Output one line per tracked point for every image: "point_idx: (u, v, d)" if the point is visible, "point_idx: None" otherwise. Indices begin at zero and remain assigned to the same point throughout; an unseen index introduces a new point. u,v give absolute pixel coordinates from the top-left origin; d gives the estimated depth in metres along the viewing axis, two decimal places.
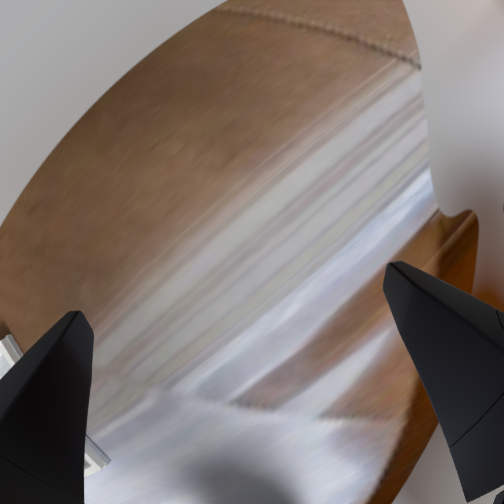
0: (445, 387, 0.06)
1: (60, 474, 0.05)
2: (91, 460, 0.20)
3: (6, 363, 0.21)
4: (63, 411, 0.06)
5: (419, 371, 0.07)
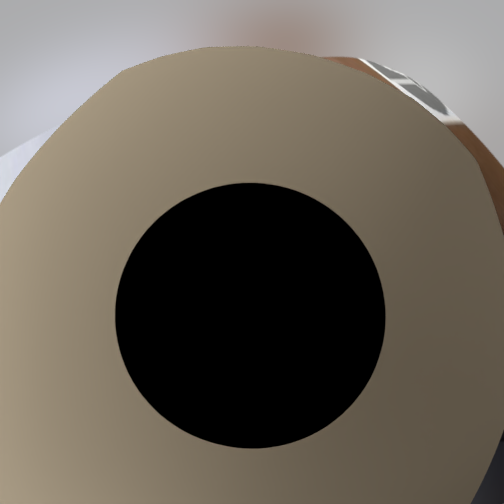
0: None
1: None
2: None
3: None
4: None
5: None
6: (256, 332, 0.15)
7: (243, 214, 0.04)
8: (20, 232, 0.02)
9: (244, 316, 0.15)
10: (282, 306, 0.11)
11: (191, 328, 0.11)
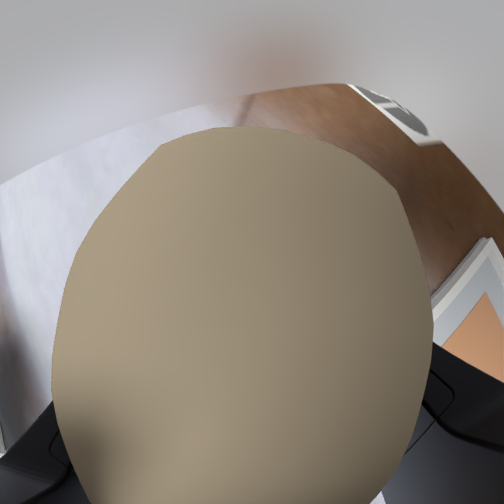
0: None
1: None
2: None
3: None
4: None
5: None
6: None
7: None
8: (108, 255, 0.04)
9: None
10: None
11: None
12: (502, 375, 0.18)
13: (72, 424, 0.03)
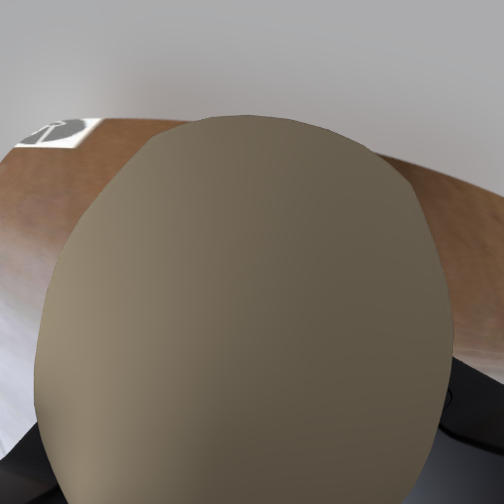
0: None
1: None
2: None
3: None
4: None
5: None
6: None
7: None
8: (93, 255, 0.03)
9: None
10: None
11: None
12: None
13: (56, 440, 0.03)
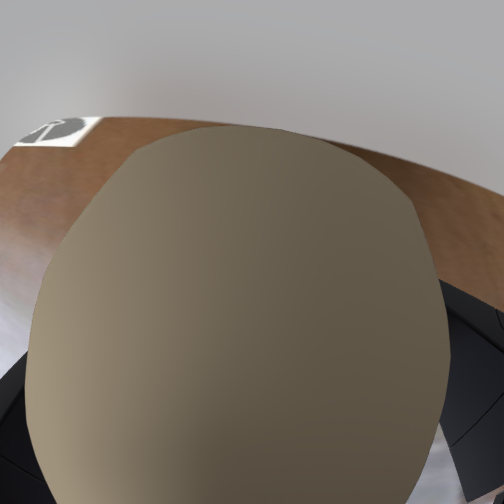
0: None
1: None
2: None
3: None
4: None
5: None
6: None
7: None
8: (76, 279, 0.03)
9: None
10: None
11: None
12: None
13: (49, 458, 0.02)
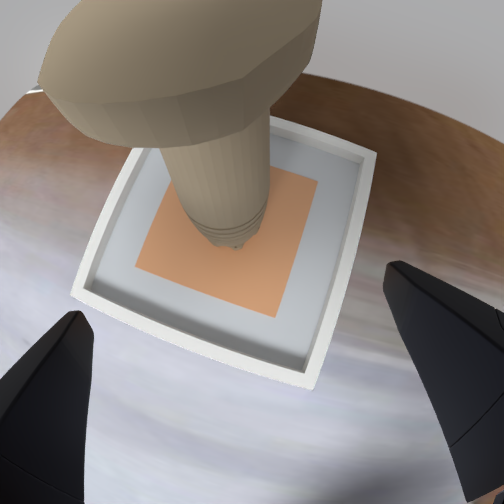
0: (445, 387, 0.06)
1: (60, 473, 0.05)
2: (318, 367, 0.16)
3: (337, 168, 0.19)
4: (63, 411, 0.06)
5: (419, 371, 0.07)
6: None
7: None
8: None
9: None
10: None
11: None
12: (292, 209, 0.19)
13: (64, 30, 0.03)
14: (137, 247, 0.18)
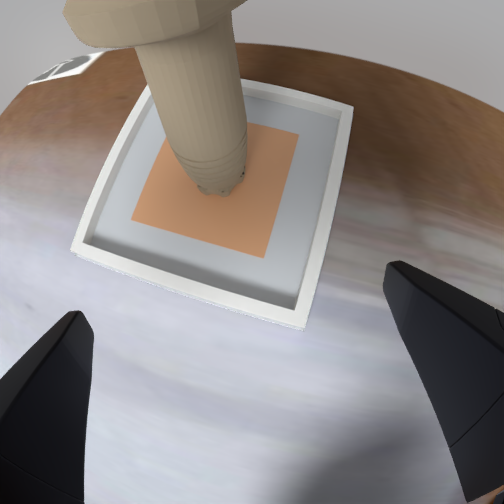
0: (445, 387, 0.06)
1: (60, 474, 0.05)
2: (308, 304, 0.17)
3: (317, 123, 0.20)
4: (63, 411, 0.06)
5: (419, 371, 0.07)
6: None
7: None
8: None
9: None
10: None
11: None
12: (276, 159, 0.19)
13: None
14: (133, 202, 0.19)
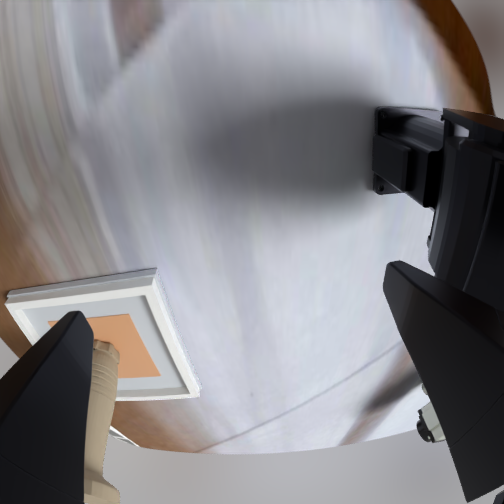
0: (445, 387, 0.06)
1: (60, 474, 0.05)
2: (135, 289, 0.21)
3: (31, 313, 0.23)
4: (63, 411, 0.06)
5: (419, 371, 0.07)
6: None
7: None
8: None
9: None
10: None
11: None
12: None
13: None
14: (151, 378, 0.29)
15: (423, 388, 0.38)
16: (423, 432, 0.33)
